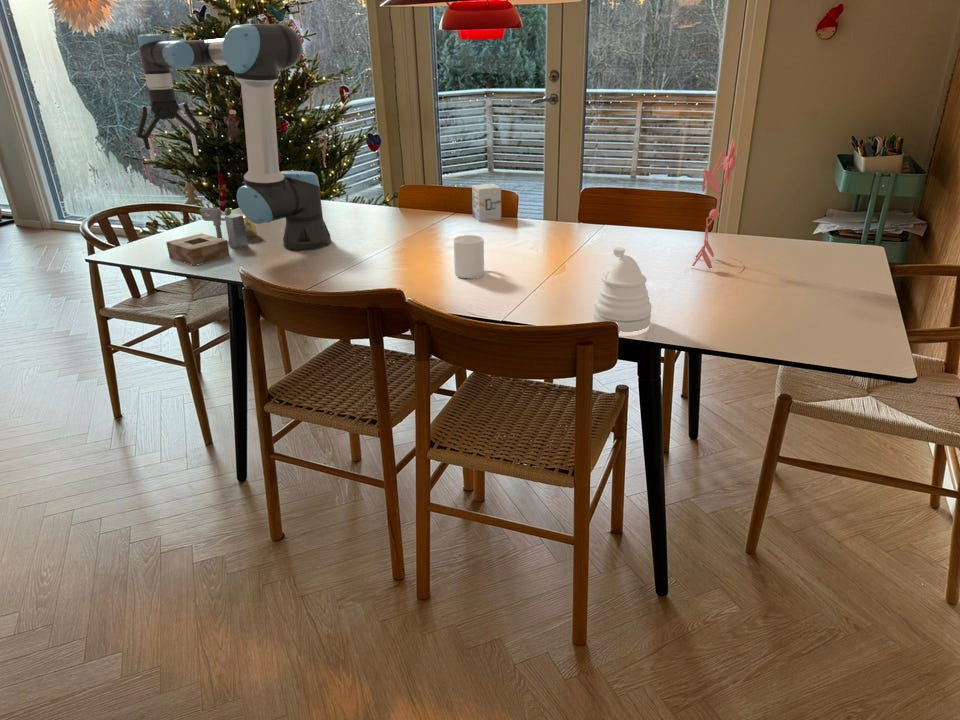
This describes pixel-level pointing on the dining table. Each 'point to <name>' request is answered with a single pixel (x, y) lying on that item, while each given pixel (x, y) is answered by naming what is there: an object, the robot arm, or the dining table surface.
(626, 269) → the honey pot
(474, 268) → the mug
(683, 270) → the dining table surface
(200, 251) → the bore block
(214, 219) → the mechanical component
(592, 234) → the dining table surface
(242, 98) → the robot arm
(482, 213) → the ink box
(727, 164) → the pink branching twig
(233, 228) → the square bit
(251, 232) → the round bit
